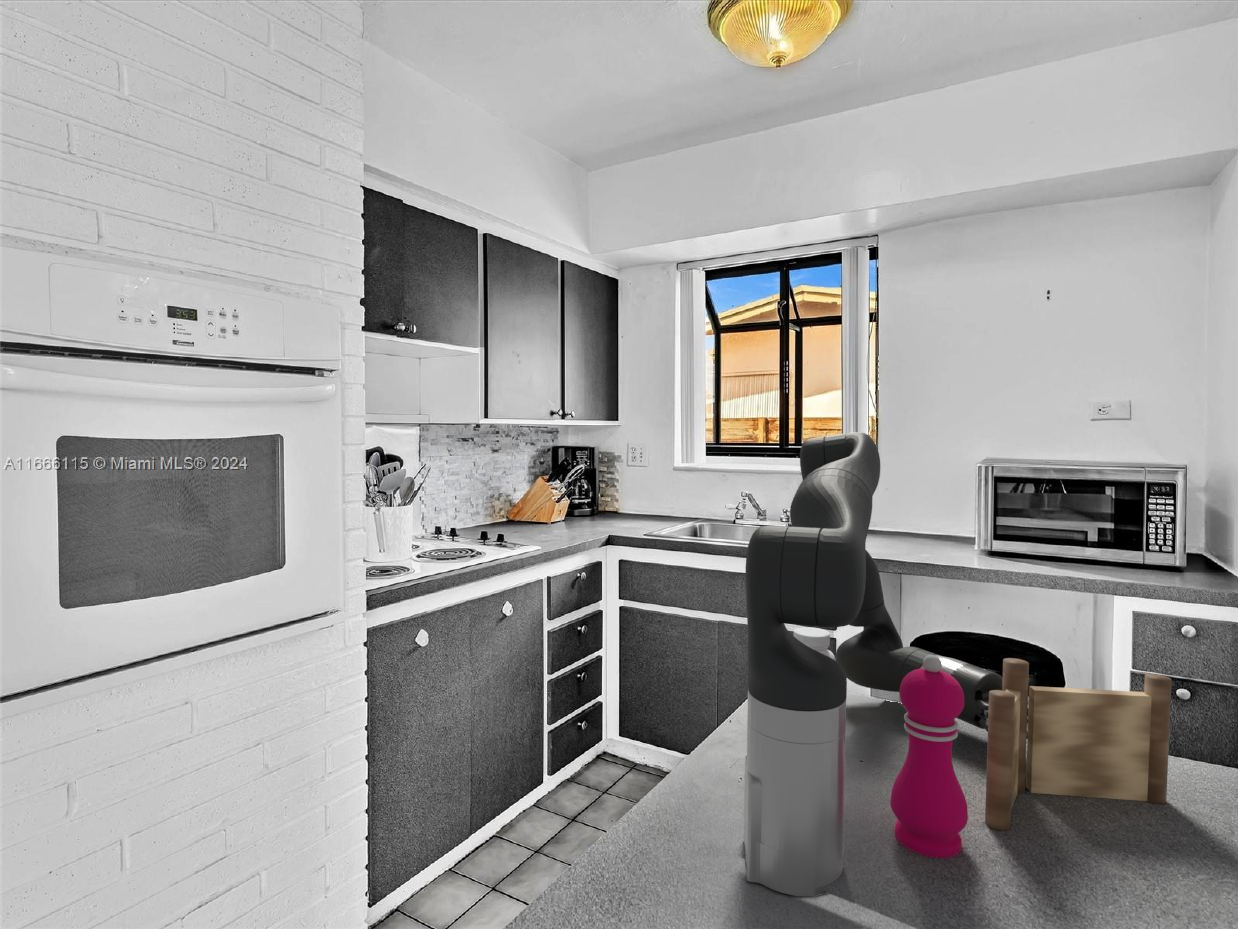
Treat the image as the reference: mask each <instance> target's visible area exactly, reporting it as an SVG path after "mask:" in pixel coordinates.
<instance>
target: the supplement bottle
mask: <svg viewBox="0 0 1238 929" xmlns="http://www.w3.org/2000/svg"><path fill="white" fill-rule="evenodd" d="M792 635H793V636H794V637H795V638H796V639H798V640H799V641H800V642H802V643H803V644H805V645H806V646H808V647H810V648H812V649H814V650H816V651H818V652H820V653H822V654H824V655H826V656H828V657H830V658H832V659H833V660H835V661H836V657H835V656H836V655H834V653H833V652H832V651H831V650H829V649H828V648H829V647H830V644H831V634H830V632H829V631H828V630H826V629H824V628H823V629H822V628H820V627H819V628H818V627H813V626H809V627H808V626H804V627H797V628H795V629H793V634H792Z"/></svg>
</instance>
